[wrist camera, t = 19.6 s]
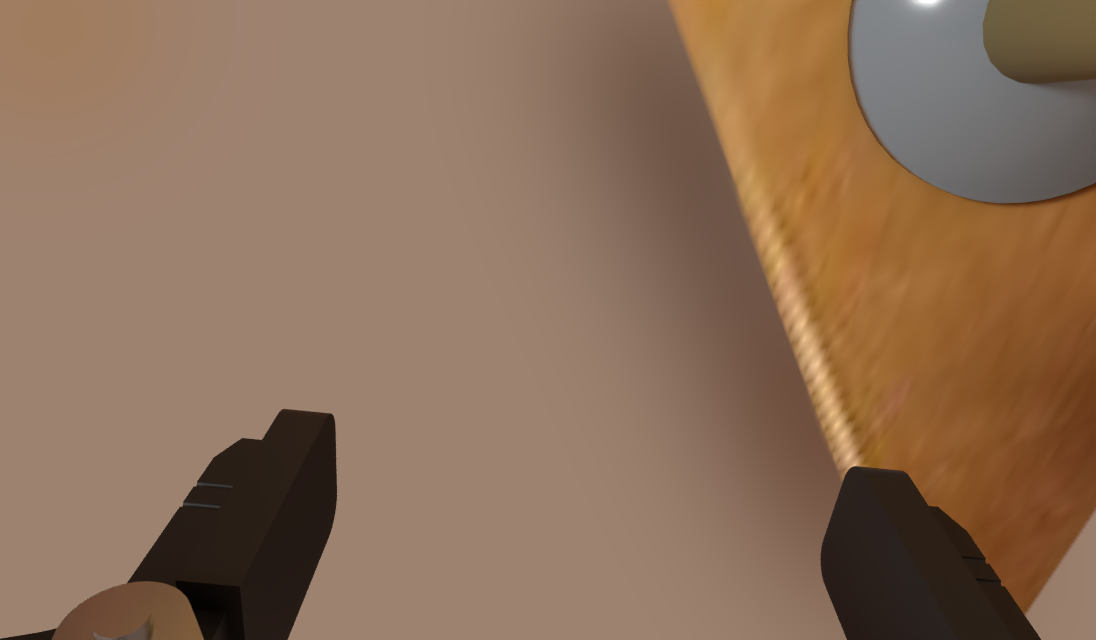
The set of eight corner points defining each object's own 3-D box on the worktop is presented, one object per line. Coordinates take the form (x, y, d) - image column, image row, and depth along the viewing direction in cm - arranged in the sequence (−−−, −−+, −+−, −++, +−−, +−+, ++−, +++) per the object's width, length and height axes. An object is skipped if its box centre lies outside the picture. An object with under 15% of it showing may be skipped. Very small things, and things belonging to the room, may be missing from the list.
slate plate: (889, -213, 34) (900, -221, 33) (1292, -193, 34) (1317, -200, 33) (818, 190, 41) (826, 195, 39) (1156, 205, 41) (1173, 210, 40)
